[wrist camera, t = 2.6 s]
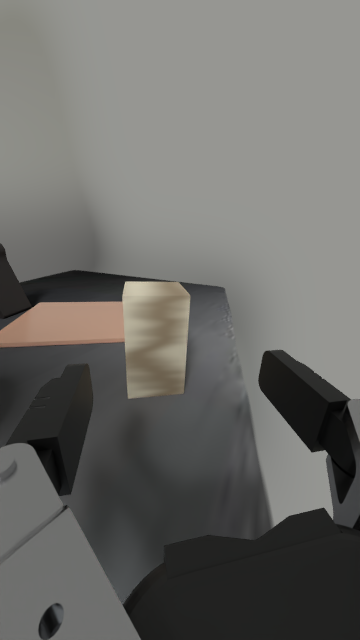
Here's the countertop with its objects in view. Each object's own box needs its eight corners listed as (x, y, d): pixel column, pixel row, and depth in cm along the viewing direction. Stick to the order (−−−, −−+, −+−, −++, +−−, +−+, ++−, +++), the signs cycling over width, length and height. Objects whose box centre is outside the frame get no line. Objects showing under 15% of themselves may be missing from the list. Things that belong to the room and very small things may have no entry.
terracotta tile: (-17, 348, 27) (-19, 344, 27) (40, 305, 44) (39, 302, 44) (128, 341, 31) (128, 338, 31) (130, 304, 47) (130, 301, 47)
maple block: (127, 398, 20) (122, 295, 17) (129, 366, 25) (125, 281, 22) (183, 393, 21) (190, 295, 18) (174, 363, 26) (178, 282, 23)
